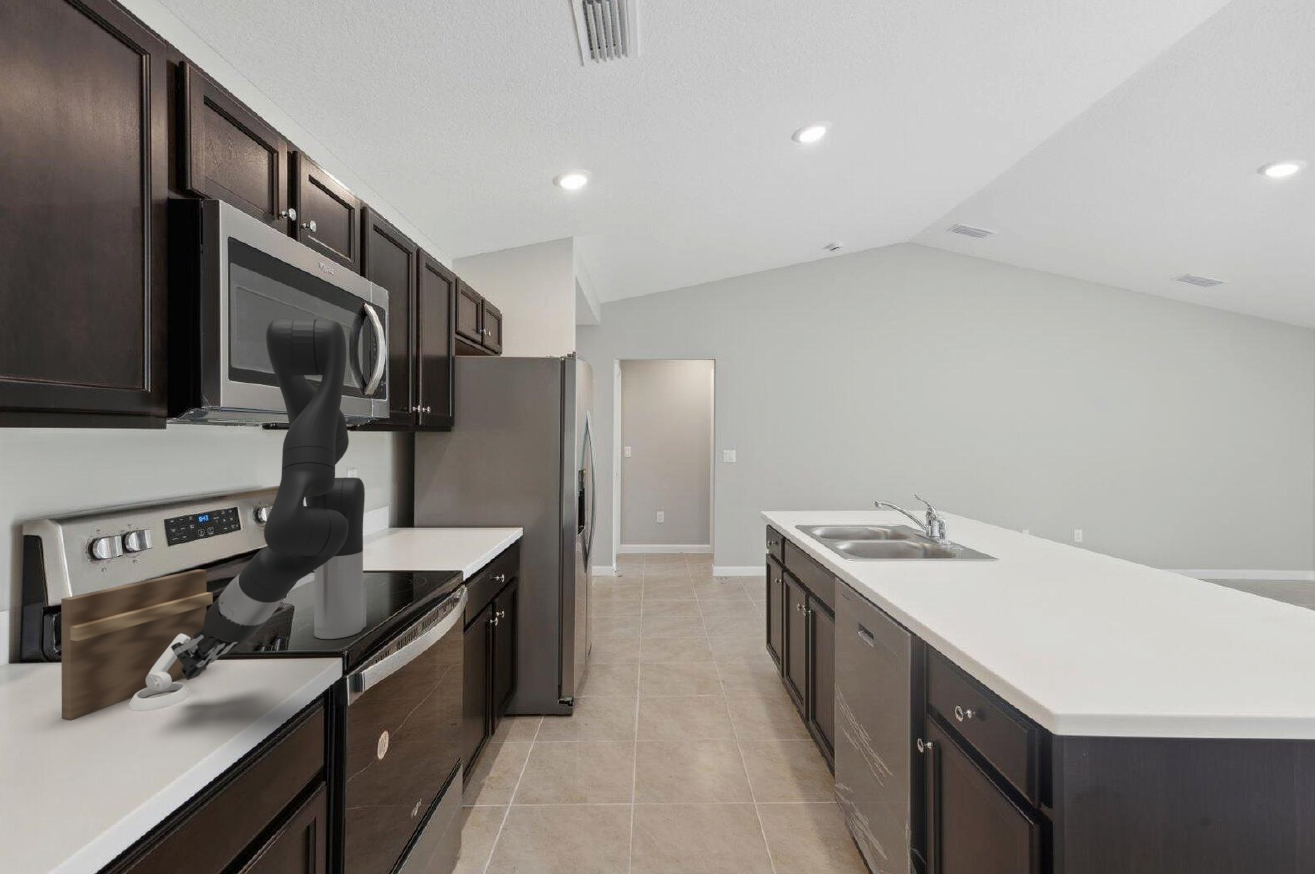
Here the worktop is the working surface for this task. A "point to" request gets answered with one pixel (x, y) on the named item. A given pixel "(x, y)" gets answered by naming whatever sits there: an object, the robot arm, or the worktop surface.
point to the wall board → (125, 637)
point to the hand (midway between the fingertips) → (189, 673)
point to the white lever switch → (161, 683)
